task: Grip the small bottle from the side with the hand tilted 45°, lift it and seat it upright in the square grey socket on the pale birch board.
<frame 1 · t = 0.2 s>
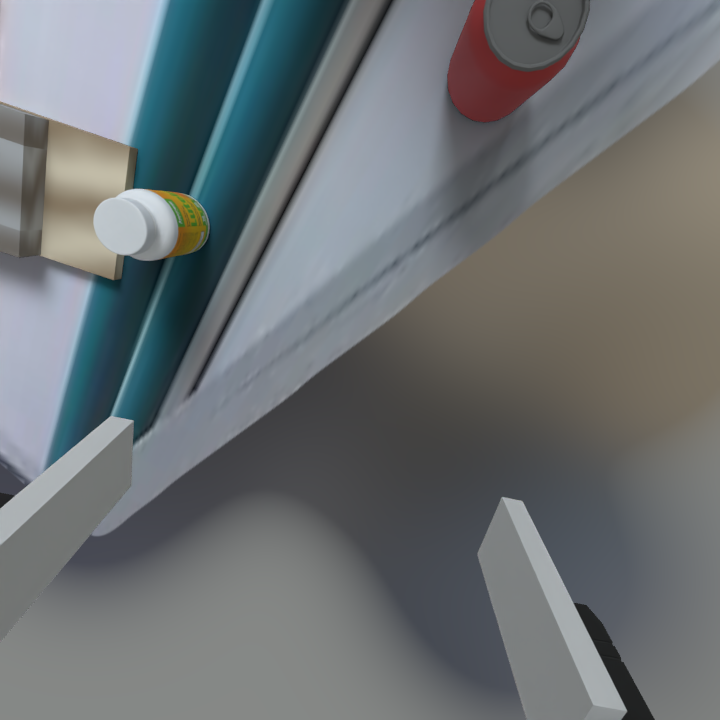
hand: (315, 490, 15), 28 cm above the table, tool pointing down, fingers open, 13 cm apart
socket board: (13, 177, 39), on the table
supplement bottle: (183, 223, 39), on the table
beer can: (487, 78, 34), on the table
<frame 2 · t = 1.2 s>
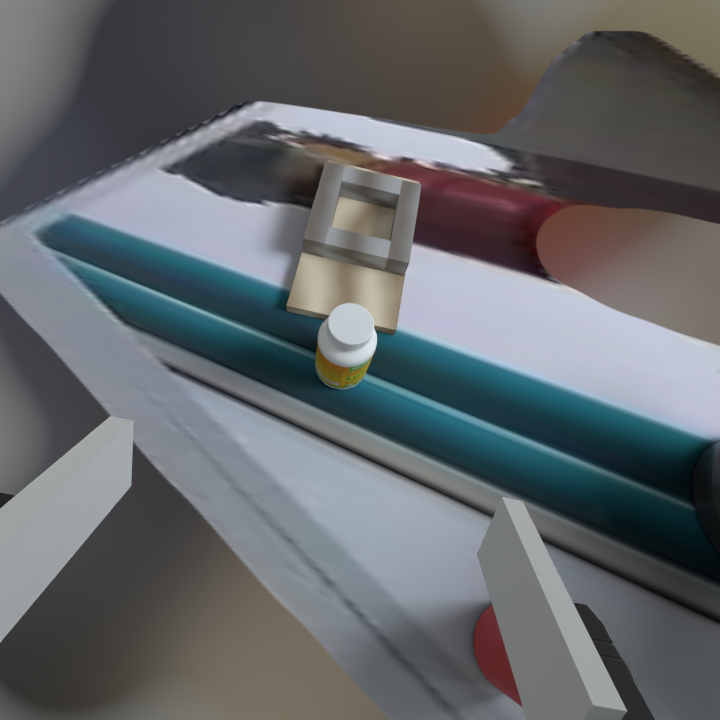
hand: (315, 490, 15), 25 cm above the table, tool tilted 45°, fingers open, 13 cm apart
socket board: (358, 244, 51), on the table
supplement bottle: (340, 367, 44), on the table
beer can: (506, 643, 36), on the table
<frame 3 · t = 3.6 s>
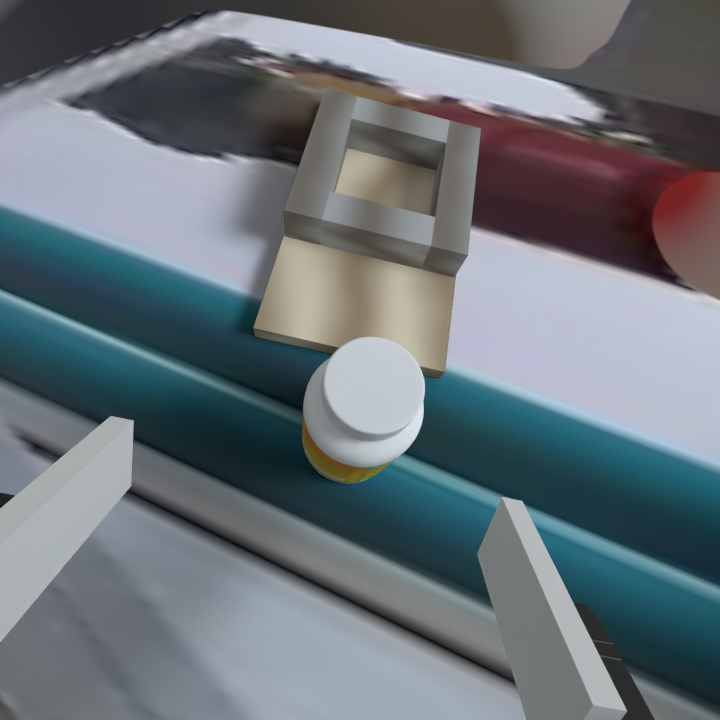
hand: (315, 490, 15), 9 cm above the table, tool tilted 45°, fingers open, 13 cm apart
socket board: (377, 224, 31), on the table
supplement bottle: (347, 438, 25), on the table
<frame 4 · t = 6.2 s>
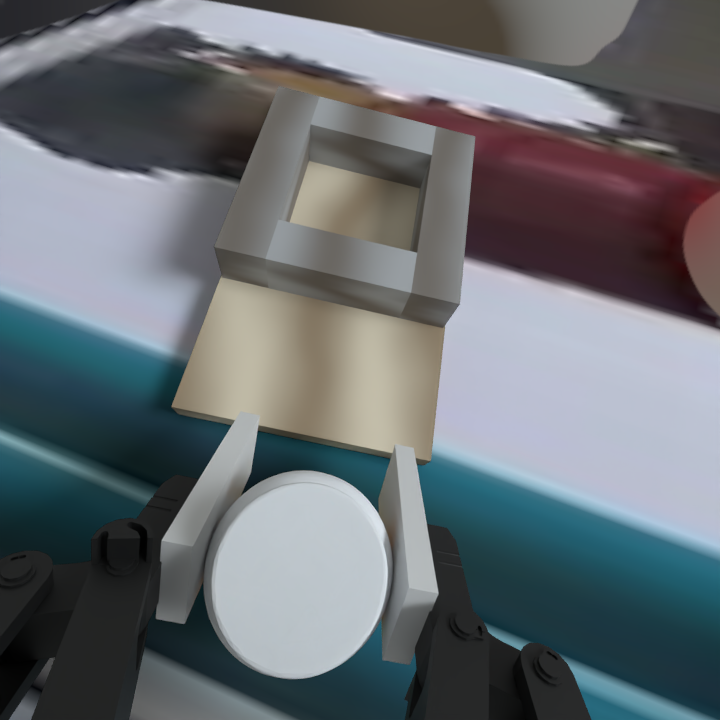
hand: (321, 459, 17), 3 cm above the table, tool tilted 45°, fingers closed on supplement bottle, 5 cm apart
socket board: (345, 257, 25), on the table
supplement bottle: (299, 556, 18), on the table, touching gripper
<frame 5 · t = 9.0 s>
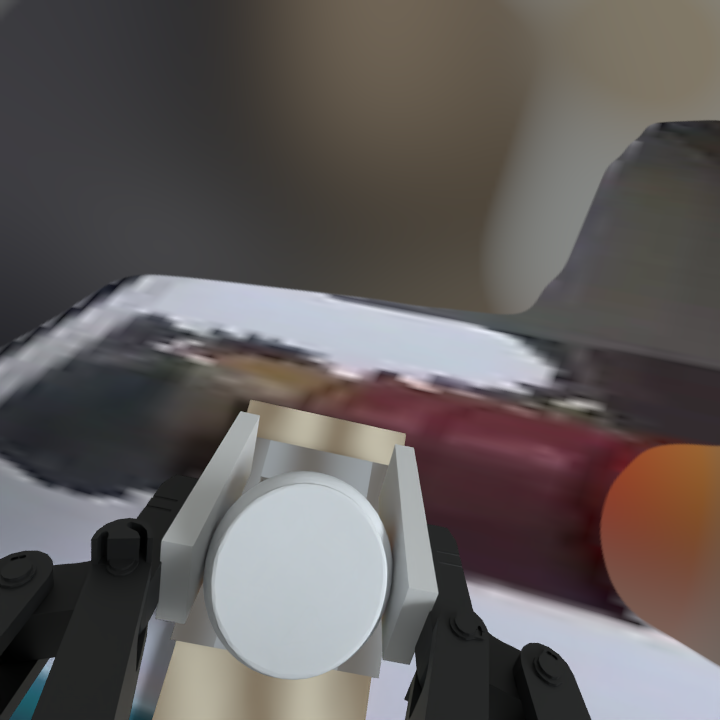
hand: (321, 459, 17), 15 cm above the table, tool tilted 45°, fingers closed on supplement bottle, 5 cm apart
socket board: (293, 576, 28), on the table
supplement bottle: (298, 557, 18), point 12 cm above the table, touching gripper
when the fingers open (6 cm above the table, at t = 11.9 s): supplement bottle drops 1 cm, resting on socket board.
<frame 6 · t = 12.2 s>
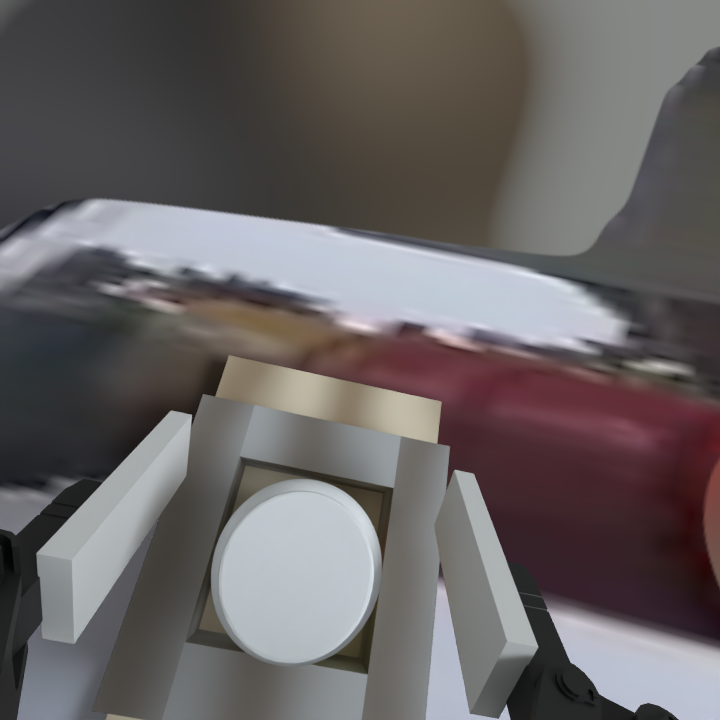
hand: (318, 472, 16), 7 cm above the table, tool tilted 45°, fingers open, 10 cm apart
socket board: (288, 600, 20), on the table
supplement bottle: (299, 557, 20), point 1 cm above the table, touching socket board
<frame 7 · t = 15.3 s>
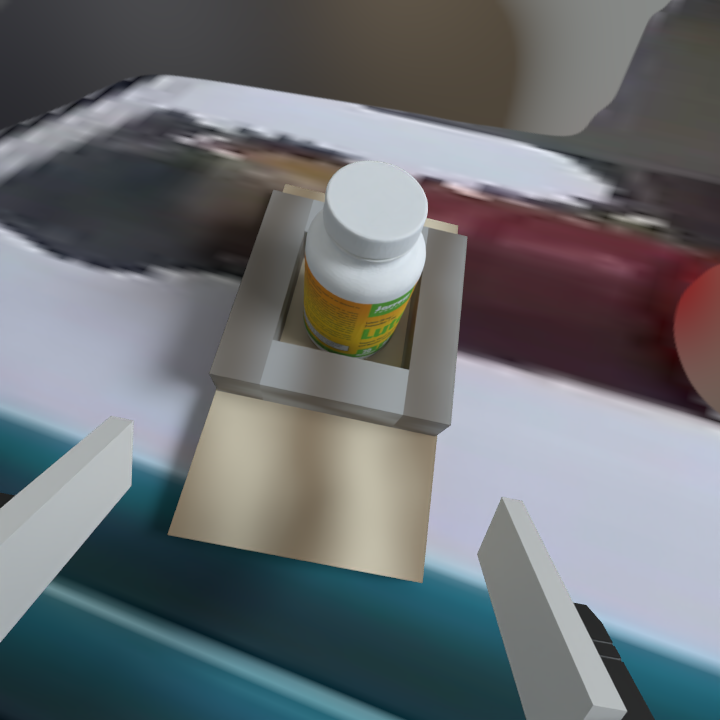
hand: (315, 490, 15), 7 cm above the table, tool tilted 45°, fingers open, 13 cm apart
socket board: (340, 357, 25), on the table
supplement bottle: (348, 322, 25), point 1 cm above the table, touching socket board
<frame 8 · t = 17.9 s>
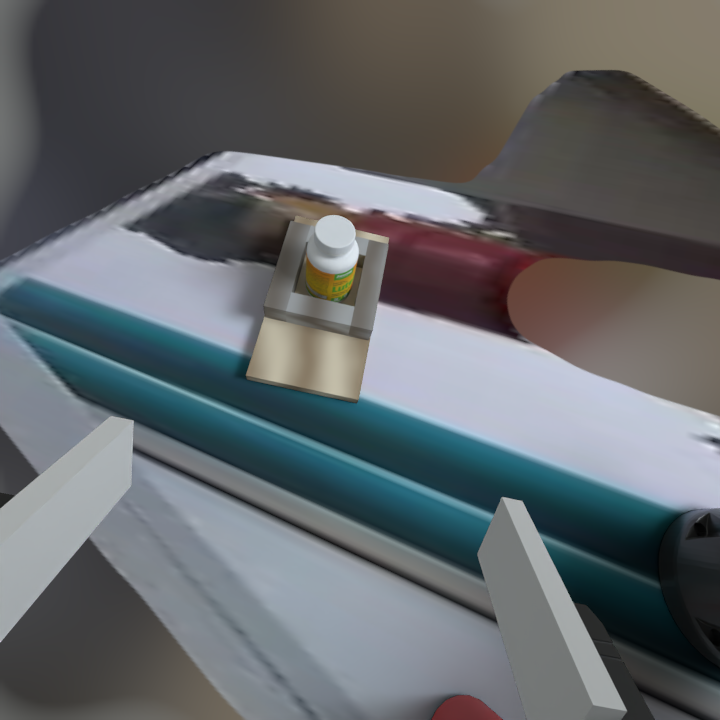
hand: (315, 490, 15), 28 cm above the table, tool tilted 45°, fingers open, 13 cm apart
socket board: (323, 305, 50), on the table
supplement bottle: (328, 287, 50), point 1 cm above the table, touching socket board
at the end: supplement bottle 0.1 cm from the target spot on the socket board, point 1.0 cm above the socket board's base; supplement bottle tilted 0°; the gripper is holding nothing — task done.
